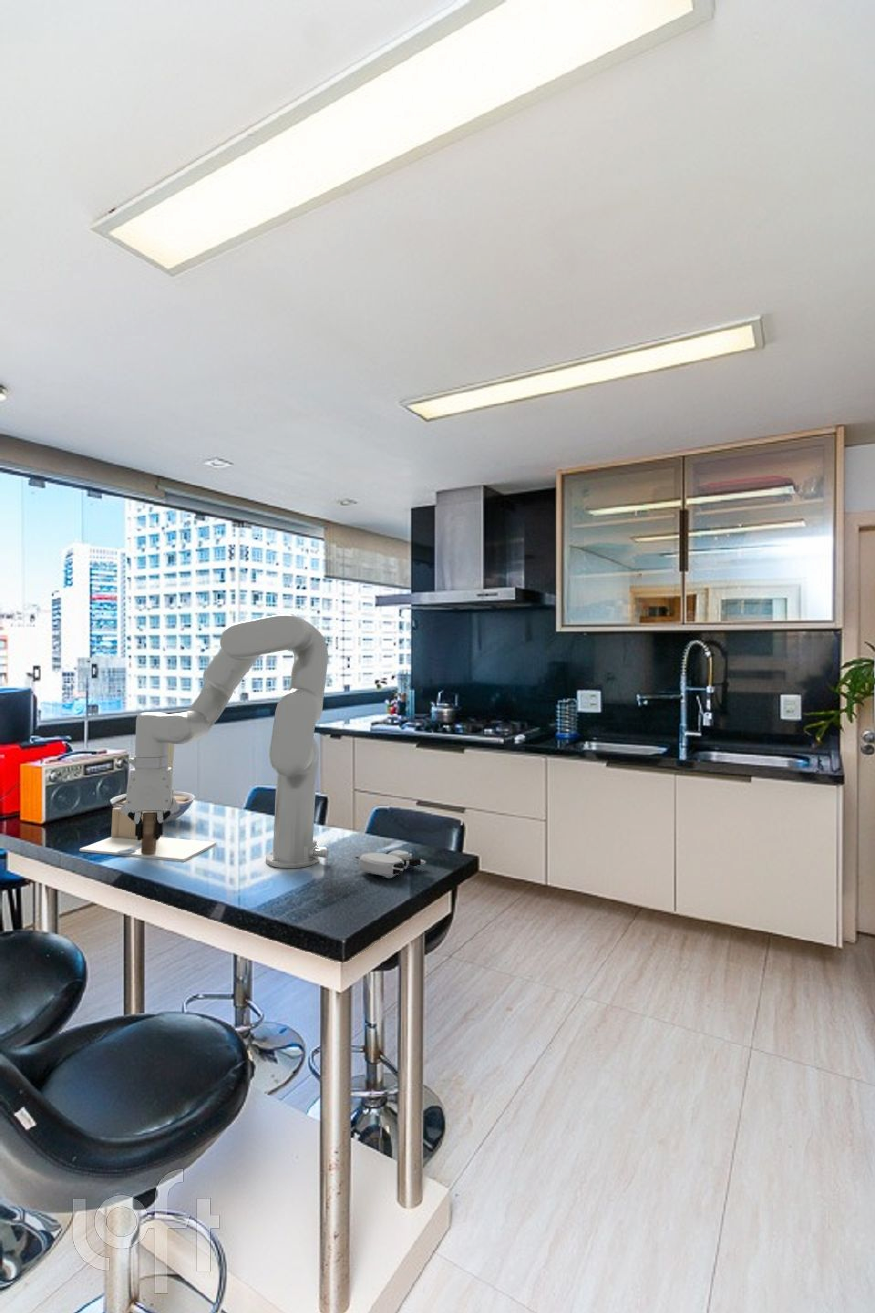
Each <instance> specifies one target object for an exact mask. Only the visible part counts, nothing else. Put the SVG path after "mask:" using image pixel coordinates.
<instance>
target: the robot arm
mask: <svg viewBox="0 0 875 1313" xmlns="http://www.w3.org/2000/svg"><path fill="white" fill-rule="evenodd" d="M219 642H220V644H219V645H220V649H219V651H218V652H217V653H216V655H215V656H214V657H213V658H212V660H211V661H210V663H209V664H208V665H207V667H206V668H205V669H204V671H203V674H202V679H203V684H202V689H201V691H200V693H199V694H198V696H197V698H196V699H195V700H194V702H193V703H192V704H191V706H190V707H189V708H188V710H187V711H183V712H178V713H171V714H168V713H166V712H161V711H160V712H159V711H151V712H150V711H148V712H141V713H139V714H138V715H137V716H136V719H135V740H134V741H135V744H134V745H135V746H134V756H133V757H131V758H128V761H127V763H128V765H132V766H133V768H131V769H130V772H129V775H128V780H127V787H126V794H127V795H126V801H125V803H124V804H123V806H122V807H121V809H120V813H122V814H124V815H127V816H128V817H129V818H130V819H131V820H132V821H134V823H135V836H137V840H138V841H139V840H141V839H142V828H143V821H142V814H143V812H148V811H157V816H158V820H157V823H156V825H155V839H156V840H158V839H159V838H160V837H162V836H163V835H164V824H163V821H164V820H165V819H166V818H167V817H169V816H170V815H171V814H173V813H175V812H177V811H178V810H179V809H180V807H179V805H178V804H177V802H176V800H175V798H174V797H173V791H174V781H173V780H174V779H173V773H172V771H171V768H170V767H168V760H169V743H172V744H174V745H184V744H188V743H191V742H193V741H197V740H199V739H201V738H203V737H204V736H206V735H207V733H208V732H209V731H210V730H211V728H212V727H213V726H214V725H215V723H216V722H217V720H218V719H219V718H220V716H221V715H222V713H223V712H224V710H225V709H226V707H227V705H228V703H229V701H230V699H231V698H232V695H233V693H234V692H235V690H236V689H237V688H238V685H239V684H240V683H241V682H242V681H243V679H244V678H245V676H246V675H247V674H248V672H249V671H250V670H251V669H252V667H253V665H254V664H255V663H256V661H257V660H258V659H259V657H260V656H262V655H267V654H271V653H276V652H277V653H278V652H282V651H283V652H284V651H291V652H292V653H293V656H294V657H293V663H292V668H291V674H290V675H291V676H290V681H289V688H288V691H287V692H285V693H284V694H282V695H281V697H280V698H279V700H278V702H277V705H276V709H275V713H274V719H273V724H272V731H271V738H270V743H269V744H270V746H269V758H268V759H269V762H270V764H271V767H272V768H273V770H274V771H275V772H276V773H277V775H276V785H275V786H276V787H275V797H274V798H275V800H274V801H275V802H274V804H275V805H274V821H273V822H274V823H273V824H274V825H273V842H272V844H273V846H272V852H270V853H267V855H266V857H265V863H267V865H269V866H271V867H275V868H279V869H280V868H281V869H297V868H299V869H300V868H306V867H310V866H313V865H315V864H316V863H317V862H319V860H320V859H319V858H323V859H324V858H325V859H327V858H328V857H329V849H328V848H327V847H325V846H324V847H323V846H321V847H319V846H318V845H317V843H318V842H317V840H314V829H315V828H314V826H315V824H314V823H315V803H316V789H317V774H318V767H319V766H318V765H319V755H320V752H319V746H318V742H317V740H316V739H315V738H314V734H315V728H316V723H317V722H318V721H319V719H320V717H321V716H322V714H323V709H324V708H323V706H324V696H325V688H326V682H327V681H326V680H327V673H328V672H327V670H328V663H329V650H328V645H327V642H326V640H325V637H324V635H322V633H321V632H320V631H319V630H318V629H317V628H316V627H315V626H314V625H312V623H310V622H309V621H307V620H305V619H304V618H301V617H298V616H297V615H293V614H289V613H282V614H281V613H280V614H276V615H271V616H266V617H261V618H256V619H252V620H245V621H240V622H235V623H233V624H230V625H228V626H227V627H226V628H225V629H224V630H223V631H222V633H221V635H220V639H219ZM171 806H172V808H171V809H169V808H170V807H171ZM168 809H169V810H168ZM165 810H167V811H166V812H165Z"/></svg>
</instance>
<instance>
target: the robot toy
mask: <svg viewBox="0 0 875 1313" xmlns="http://www.w3.org/2000/svg"><path fill="white" fill-rule="evenodd" d="M352 859H358V861H359V862H358V863H359V864H358V867H359V868H360V869H361V870H362V871H365V872H366V873H368V872H369V873H373V874H372V875H378V876H382V875H383V876H394V875H395V876H397V875H400V874H399V873H401V874H402V873H403V872H404V871H405V870H404V866H406V865H408V864H409V865H410V866H411V867H412V866H417V865H420V866H421V865H426V864H427V861H426V860H424V859H421V858H420V857H413V854H412V853H411V852H410V853H409V852H408V851H405V850H400V849H399V850H398V849H396V850H395V849H394V850H389V851H388V850H387V852H386V853H382V852H368V853H364V854H361V855H360V856H355V855H352ZM425 863H426V864H425ZM410 866H409V867H410ZM417 867H418V866H417ZM369 873H368V874H369ZM395 876H394V877H395Z"/></svg>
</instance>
